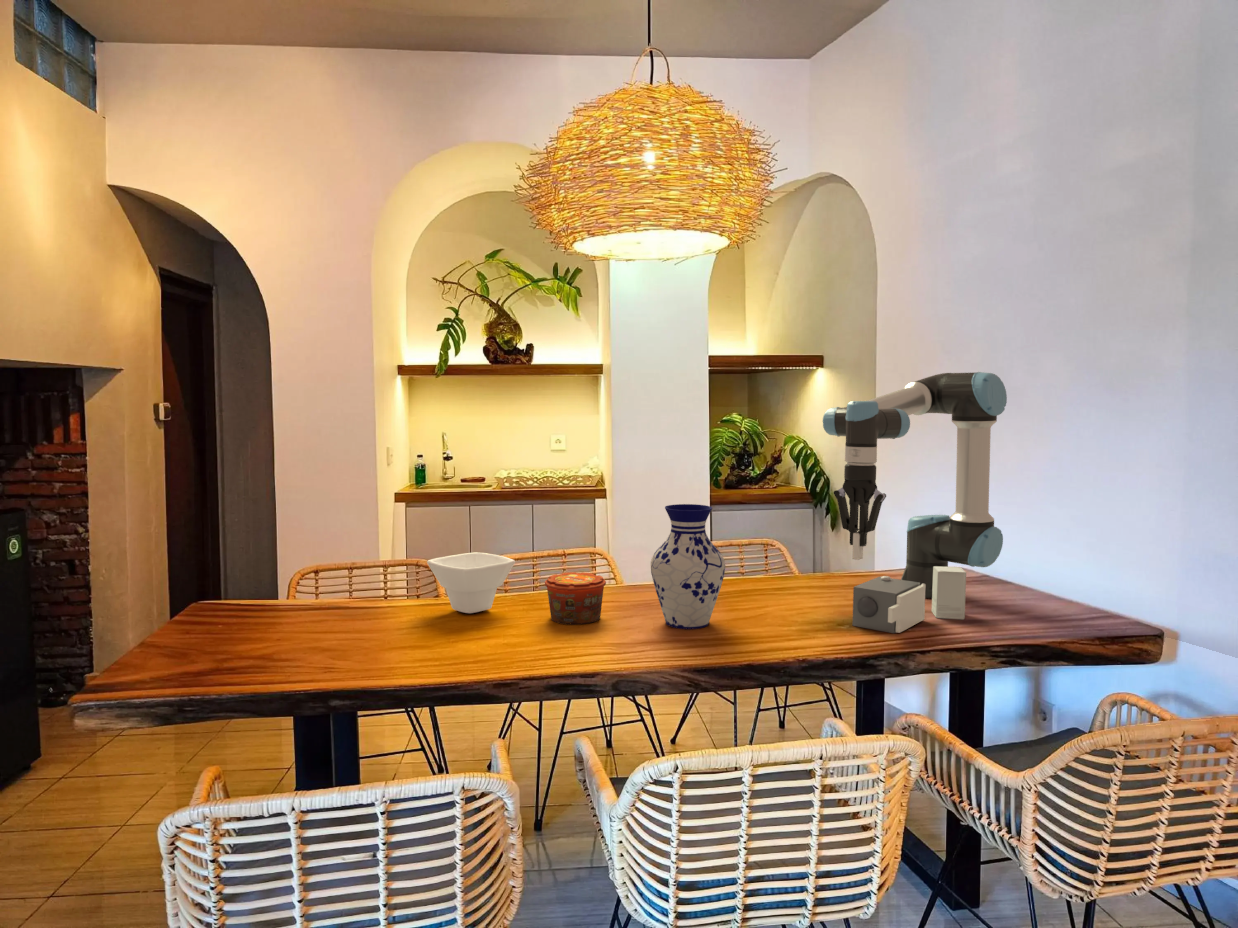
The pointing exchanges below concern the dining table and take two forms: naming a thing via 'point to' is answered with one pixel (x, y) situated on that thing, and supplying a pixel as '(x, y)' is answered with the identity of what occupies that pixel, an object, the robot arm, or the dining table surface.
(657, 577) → the vase
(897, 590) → the camera box
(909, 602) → the side door
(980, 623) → the dining table surface
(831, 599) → the dining table surface
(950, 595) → the supplement box
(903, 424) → the robot arm
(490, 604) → the bowl
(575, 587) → the food container
